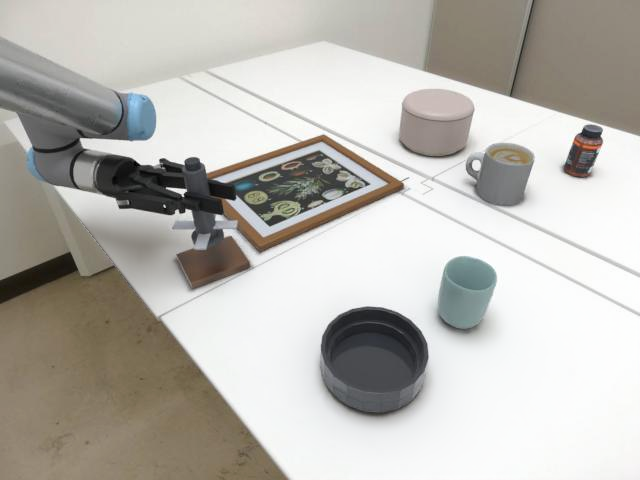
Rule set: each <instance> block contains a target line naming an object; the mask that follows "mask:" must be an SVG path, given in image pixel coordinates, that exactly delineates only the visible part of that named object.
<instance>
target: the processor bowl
mask: <svg viewBox="0 0 640 480" xmlns="http://www.w3.org/2000/svg"><path fill="white" fill-rule="evenodd" d="M321 335H322V336H321V343H320V370H321V374H322V378H323V381H324V383H325V385H326V386H327V388H328V389H329V391H330V392H331V394H332V395H333V396H334V397H336V398H337V399H338V400H340V401H341V402H342V403H344V404H345V405H346V406H348V407H351V408H353V409H355V410H358V411H361V412H367V413H369V412H370V413H376V414H377V413H379V414H381V413H386V412H391V411H395V410H396V411H397V410H399V409H400V408H402V407H403V406H405V405H408V404H409V403H410V402H412V401H413V399H415V398H416V396H417V395H418V393H419V392H420V391H421V389H422V386H423V382H424V379H425V376H426V371H427V366H428V363H429V360H430V359H429V358H430V355H429V347H428V345H429V344H428V341H427V340H426V337H425V336H424V334H423V332H422V330H421V329H420V328H419V327H418V326H417V324H415V323H414V321H412V319H410V318H409V317H407V316H405V315H403V314H402V313H400V312H398V311H395V310H392V309H389V308H386V307H382V306H369V305H368V306H360V307H355V308H351V309H348V310H346V311H344V312H342V313H340V314H338V315H337V316H336V317H334V319H332V320H331V321H330V322H329V323H328V325H327V326H326V328H325V330H324V332H323V334H321Z"/></svg>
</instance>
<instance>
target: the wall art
mask: <svg viewBox="0 0 640 480" xmlns="http://www.w3.org/2000/svg"><path fill="white" fill-rule="evenodd" d="M206 174H207V179H212V180H217V181H219V182H222V183H227V184H232V185H235V191H236V198H237V199H236V200H235V201H232V200H227V199H223V198H220V199H222V204H223V210H224V213H223V215H224V216H225V217H226V218H227V220H228V221H233V220H238V224H237V228H236V229H237V230H238V231H239V232H240V233H241V234H242V235H243V237H245V238H246V239H247V240H248V242H250V243H251V244H252V246H254V247H255V249H256V250H257V251H258V252H259V253H260V252H263V251H265V250H269V249H270V248H272V247H275V246H277V245H279V244H281V243H284V242H286V241H289V240H290V239H293V238H295V237H297V236H299V235H301V234H302V235H303V234H304V233H306V232H308V231H311V230H313V229H315V228H317V227H320V226H322V225H325V224H326V223H329V222H332V221H333V220H336V219H338V218H340V217H342V216H344V215H346V214H347V215H348V214H350V213H351V212H353V211H356V210H358V209H360V208H362V207H365V206H367V205H370V204H372V203H374V202H377V201H379V200H381V199H383V198H385V197H388V196H390V195H392V194H394V193H396V192H398V191H401V190H403V189H404V186H405V183H404V182H402V181H401V180H399V179H397V178H396V177H394V176H393V175H391V174H389V173H388V172H386V171H385V170H383V169H381V168H380V167H378V166H377V165H375V164H373V163H372V162H370V161H368V160H366V159H365V158H364V157H362V156H361V155H359V154H357V153H355V152H354V151H352V150H351V149H349V148H347V147H346V146H345V145H342V144H341V143H339V142H337V141H336V140H334V139H333V138H331V137H329V136H328V135H326V134H324V133H323V134H320V135H317V136H314V137H311V138H308V139H305V140H303V141H299V142H296V143H293V144H290V145H288V146H284V147H281V148H278V149H275V150H272V151H269V152H266V153H263V154H261V155H257V156H254V157H251V158H249V159H245V160H242V161H239V162H236V163H233V164H230V165H227V166H224V167H221V168H218V169H214V170H212V171H209V172H206ZM211 197H213V196H211ZM215 198H218V197H215Z"/></svg>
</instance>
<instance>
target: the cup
mask: <svg viewBox="0 0 640 480" xmlns="http://www.w3.org/2000/svg"><path fill="white" fill-rule="evenodd" d="M497 282H498V275H497V271H496V270H495V268H494V267H493V266H492V265H491V264H489V262H486V261H484V260H482V259H481V258H477V257H473V256H468V255H460V256H455V257H453V258H451V259H449V260H448V262H446V264H445V266H444V268H443V271H442V275H441V280H440V283H439V289H438V295H437V310H438V314H439V316H440V317H441V319H442V320H443V321H444V322H445V323H447V324H448V325H450V326H451V327H453V328H457V329H463V330H466V329H471V328H473V327H475V326H477V325H478V324H479V323H480V322H481V321H482V319H483V318H484V316H485V315H486V313H487V311H488V309H489V306H490V303H491V302H492V298H493V295H494V293H495V290H496V286H497Z"/></svg>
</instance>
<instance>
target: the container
mask: <svg viewBox="0 0 640 480" xmlns="http://www.w3.org/2000/svg"><path fill="white" fill-rule="evenodd" d="M475 109H476V108H475V104H474V102H473V100H471V98H470V97H468V96H467V95H465V94H463V93H461V92H457V91H454V90H450V89H445V88H444V89H443V88H423V89H417V90H414V91H411V92H410V93H408V94H407V95H405V97H404V98H403V100H402V102H401V110H400V111H401V112H400V122H399V130H398V139H399V140H400V142H401V143H402V145H404V146H405V147H406V148H408V149H409V150H410V151H412V152H414V153H417V154H419V155H423V156H429V157H445V156H450V155H453V154H455V153H457V152H458V151H460V150H462V149H464V148H465V147H466V146H467V144H468V139H469V135H470V131H471V126H472V123H473V118H474V113H475Z"/></svg>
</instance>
